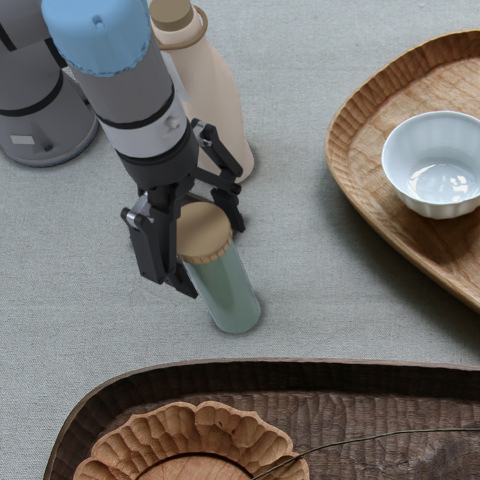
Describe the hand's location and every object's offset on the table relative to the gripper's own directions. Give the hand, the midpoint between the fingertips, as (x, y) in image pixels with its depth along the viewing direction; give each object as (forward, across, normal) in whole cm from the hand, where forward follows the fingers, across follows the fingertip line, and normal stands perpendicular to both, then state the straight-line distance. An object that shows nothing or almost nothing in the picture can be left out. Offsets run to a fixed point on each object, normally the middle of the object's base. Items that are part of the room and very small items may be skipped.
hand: (211, 259), depth 97 cm
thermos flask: (+14, 0, 0) cm, 14 cm away
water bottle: (+14, +20, +14) cm, 28 cm away
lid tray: (+13, +8, +13) cm, 20 cm away
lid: (-6, 0, 0) cm, 6 cm away
